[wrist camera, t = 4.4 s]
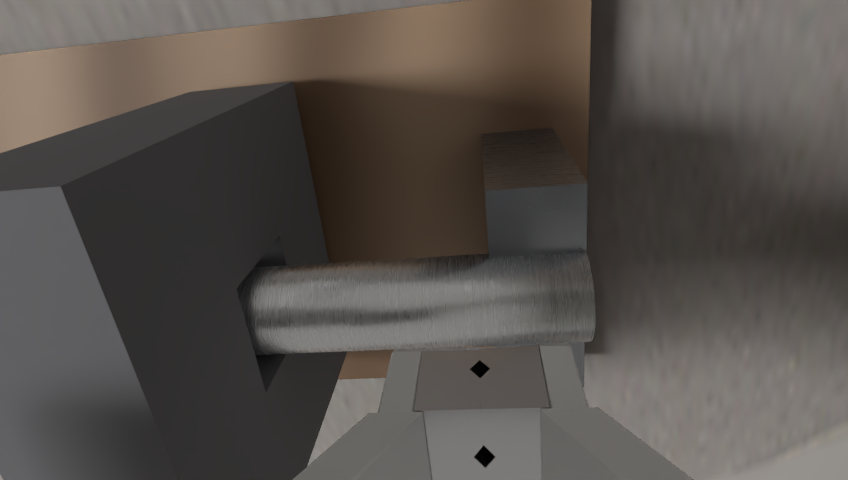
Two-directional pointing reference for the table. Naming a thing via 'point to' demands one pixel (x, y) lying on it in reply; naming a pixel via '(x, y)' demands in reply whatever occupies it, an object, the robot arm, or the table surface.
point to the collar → (157, 294)
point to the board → (353, 109)
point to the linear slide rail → (452, 274)
